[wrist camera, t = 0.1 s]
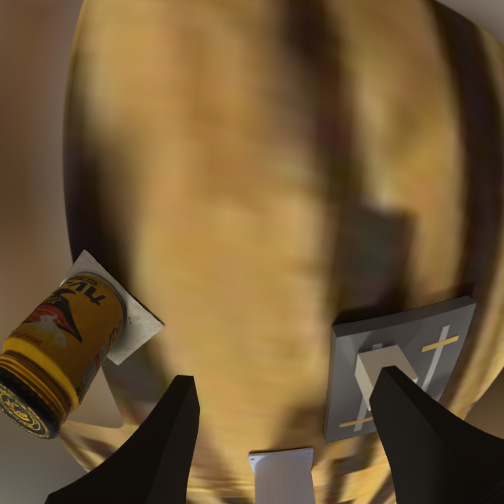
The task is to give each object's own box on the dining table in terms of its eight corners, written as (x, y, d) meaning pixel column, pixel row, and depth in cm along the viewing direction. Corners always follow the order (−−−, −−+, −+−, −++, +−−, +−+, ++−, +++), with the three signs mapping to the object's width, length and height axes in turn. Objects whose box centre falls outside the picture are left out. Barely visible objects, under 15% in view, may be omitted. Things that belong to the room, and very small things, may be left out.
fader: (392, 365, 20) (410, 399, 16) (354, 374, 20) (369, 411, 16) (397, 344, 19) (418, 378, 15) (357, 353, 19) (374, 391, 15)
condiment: (85, 247, 18) (-25, 343, 7) (165, 325, 20) (114, 460, 9) (51, 299, 20) (-28, 387, 8) (119, 363, 22) (71, 469, 11)
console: (428, 403, 26) (433, 412, 24) (322, 432, 26) (325, 443, 25) (467, 294, 20) (477, 303, 18) (331, 325, 20) (336, 338, 19)
